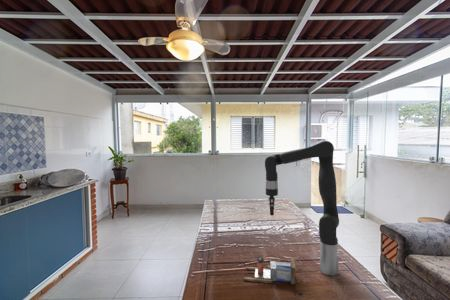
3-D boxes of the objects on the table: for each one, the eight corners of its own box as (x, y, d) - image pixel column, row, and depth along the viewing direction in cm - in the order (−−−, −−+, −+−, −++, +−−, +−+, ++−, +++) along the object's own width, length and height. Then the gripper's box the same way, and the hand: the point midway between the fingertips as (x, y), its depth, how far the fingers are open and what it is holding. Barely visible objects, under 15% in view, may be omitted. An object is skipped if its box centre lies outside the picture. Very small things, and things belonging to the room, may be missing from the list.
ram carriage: (275, 272, 138) (275, 256, 138) (276, 281, 130) (276, 264, 129) (255, 270, 140) (255, 254, 140) (254, 279, 132) (254, 262, 131)
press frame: (293, 272, 138) (293, 257, 137) (295, 285, 126) (295, 268, 126) (246, 268, 143) (246, 253, 142) (244, 280, 131) (243, 264, 131)
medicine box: (276, 280, 130) (276, 265, 130) (275, 276, 135) (275, 261, 134) (291, 282, 129) (291, 266, 129) (290, 277, 133) (290, 262, 133)
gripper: (278, 190, 143) (278, 217, 144) (277, 185, 157) (277, 209, 157) (265, 189, 144) (265, 216, 145) (265, 184, 158) (265, 209, 159)
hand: (271, 212), depth 151 cm, fingers open, 8 cm apart
